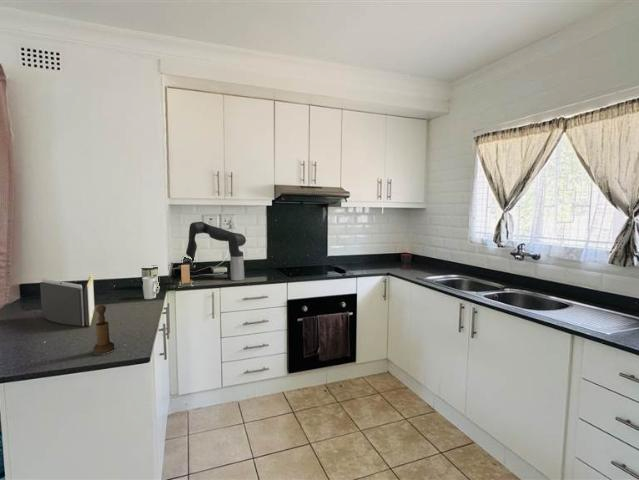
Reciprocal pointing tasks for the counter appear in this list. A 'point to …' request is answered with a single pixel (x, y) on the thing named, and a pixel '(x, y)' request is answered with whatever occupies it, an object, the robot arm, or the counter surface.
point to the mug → (150, 287)
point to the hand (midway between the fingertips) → (186, 268)
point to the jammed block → (185, 274)
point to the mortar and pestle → (102, 333)
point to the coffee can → (150, 273)
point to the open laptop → (67, 302)
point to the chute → (190, 283)
